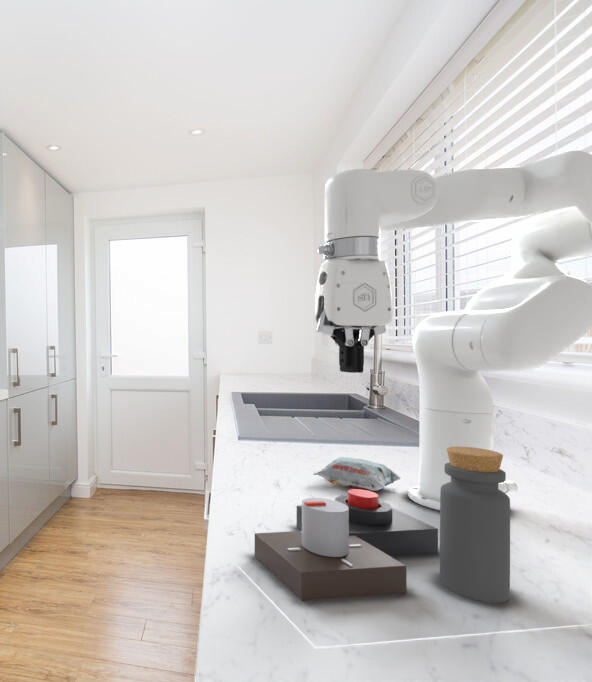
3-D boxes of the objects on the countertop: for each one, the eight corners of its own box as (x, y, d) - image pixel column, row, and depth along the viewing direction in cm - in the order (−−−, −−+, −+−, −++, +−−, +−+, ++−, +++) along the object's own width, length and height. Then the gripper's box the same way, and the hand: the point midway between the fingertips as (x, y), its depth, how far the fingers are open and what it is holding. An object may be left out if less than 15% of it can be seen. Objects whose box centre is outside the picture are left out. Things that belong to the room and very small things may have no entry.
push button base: (378, 523, 70) (379, 489, 70) (438, 554, 60) (438, 514, 60) (296, 527, 68) (296, 493, 68) (343, 559, 58) (343, 519, 58)
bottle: (426, 576, 54) (427, 445, 54) (473, 574, 55) (474, 444, 55) (473, 605, 48) (473, 458, 48) (525, 602, 49) (526, 457, 49)
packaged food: (384, 500, 80) (384, 471, 80) (312, 484, 89) (312, 457, 89) (401, 490, 85) (401, 463, 85) (331, 476, 94) (331, 451, 94)
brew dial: (330, 538, 57) (331, 494, 57) (358, 556, 53) (358, 508, 53) (293, 539, 57) (293, 495, 57) (317, 558, 52) (318, 510, 52)
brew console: (343, 552, 60) (343, 527, 60) (406, 593, 51) (406, 564, 50) (254, 557, 59) (254, 531, 59) (301, 601, 49) (301, 570, 49)
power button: (365, 501, 66) (365, 488, 66) (385, 510, 62) (385, 496, 62) (341, 502, 66) (341, 489, 66) (360, 511, 62) (360, 498, 62)
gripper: (322, 247, 69) (321, 374, 69) (415, 250, 71) (414, 373, 71) (292, 256, 76) (292, 370, 76) (377, 258, 78) (377, 370, 78)
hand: (351, 371), depth 73 cm, fingers closed
